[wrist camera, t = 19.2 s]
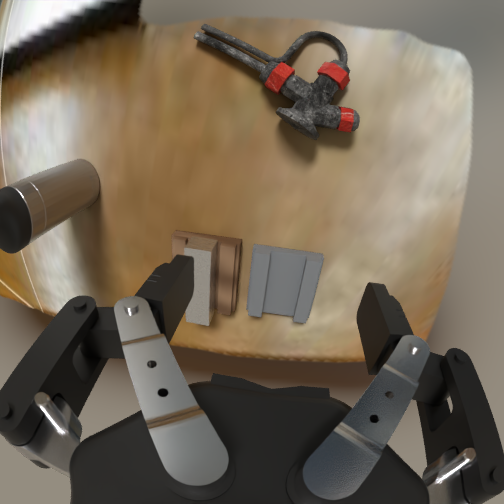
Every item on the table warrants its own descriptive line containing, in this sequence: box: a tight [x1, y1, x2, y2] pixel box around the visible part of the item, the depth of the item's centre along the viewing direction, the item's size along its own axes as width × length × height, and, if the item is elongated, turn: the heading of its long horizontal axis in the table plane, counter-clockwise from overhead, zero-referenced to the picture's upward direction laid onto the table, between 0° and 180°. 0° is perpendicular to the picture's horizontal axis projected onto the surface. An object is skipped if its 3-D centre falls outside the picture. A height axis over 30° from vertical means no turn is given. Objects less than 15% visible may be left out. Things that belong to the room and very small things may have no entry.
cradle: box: [172, 230, 242, 315], centre depth 47 cm, size 13×11×3 cm
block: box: [184, 236, 218, 326], centre depth 45 cm, size 14×4×4 cm, turn 174°
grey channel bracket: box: [246, 244, 324, 323], centre depth 46 cm, size 12×11×3 cm
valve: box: [194, 24, 360, 140], centre depth 31 cm, size 6×26×15 cm
